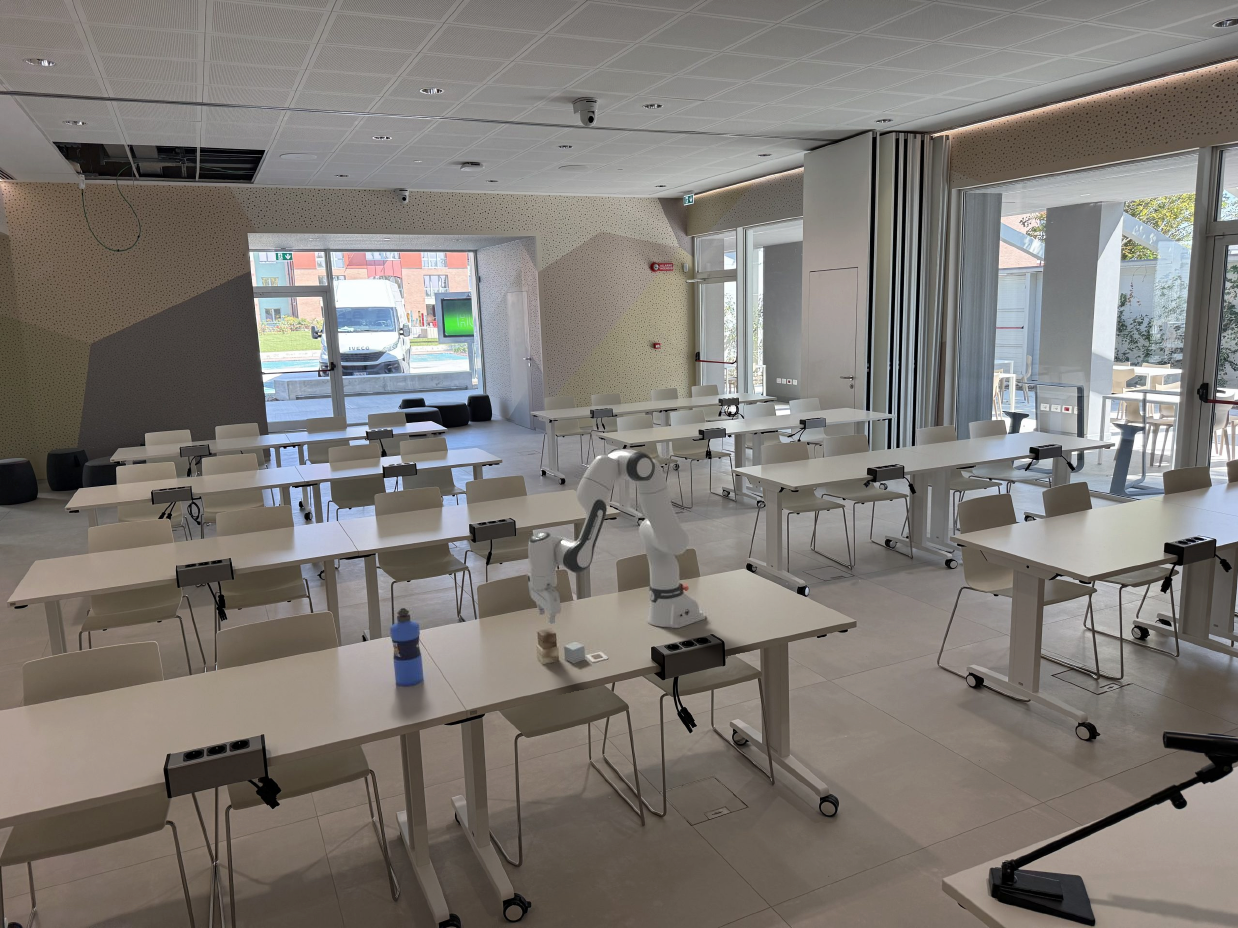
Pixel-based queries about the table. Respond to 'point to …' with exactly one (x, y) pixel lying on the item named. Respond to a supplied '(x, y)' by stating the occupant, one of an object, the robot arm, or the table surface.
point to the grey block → (574, 652)
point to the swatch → (596, 657)
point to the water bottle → (406, 650)
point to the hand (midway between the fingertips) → (546, 618)
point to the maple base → (547, 654)
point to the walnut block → (547, 638)
